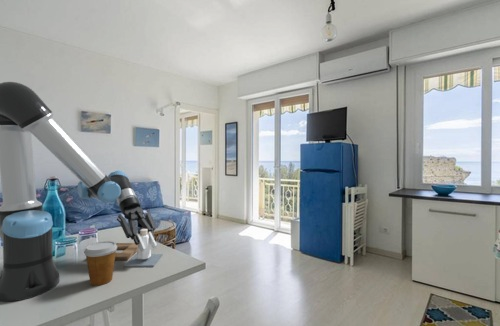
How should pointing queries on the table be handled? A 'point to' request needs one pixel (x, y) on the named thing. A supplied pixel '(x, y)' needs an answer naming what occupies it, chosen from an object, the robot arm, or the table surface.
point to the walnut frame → (125, 250)
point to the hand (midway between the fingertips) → (149, 248)
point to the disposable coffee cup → (100, 261)
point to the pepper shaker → (146, 243)
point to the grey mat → (143, 261)
